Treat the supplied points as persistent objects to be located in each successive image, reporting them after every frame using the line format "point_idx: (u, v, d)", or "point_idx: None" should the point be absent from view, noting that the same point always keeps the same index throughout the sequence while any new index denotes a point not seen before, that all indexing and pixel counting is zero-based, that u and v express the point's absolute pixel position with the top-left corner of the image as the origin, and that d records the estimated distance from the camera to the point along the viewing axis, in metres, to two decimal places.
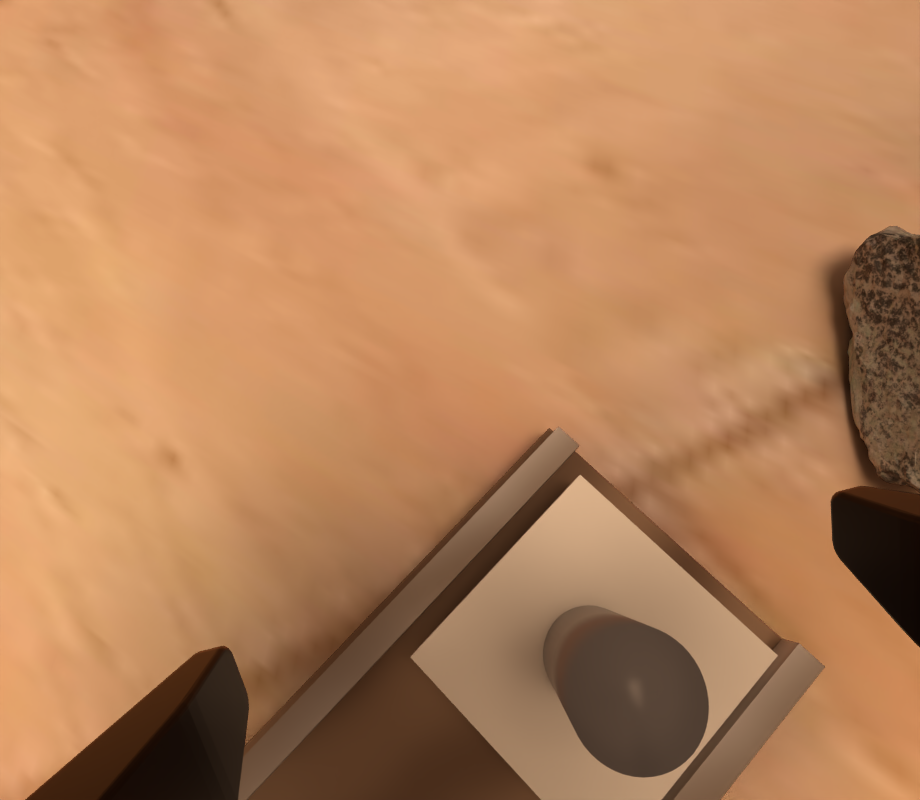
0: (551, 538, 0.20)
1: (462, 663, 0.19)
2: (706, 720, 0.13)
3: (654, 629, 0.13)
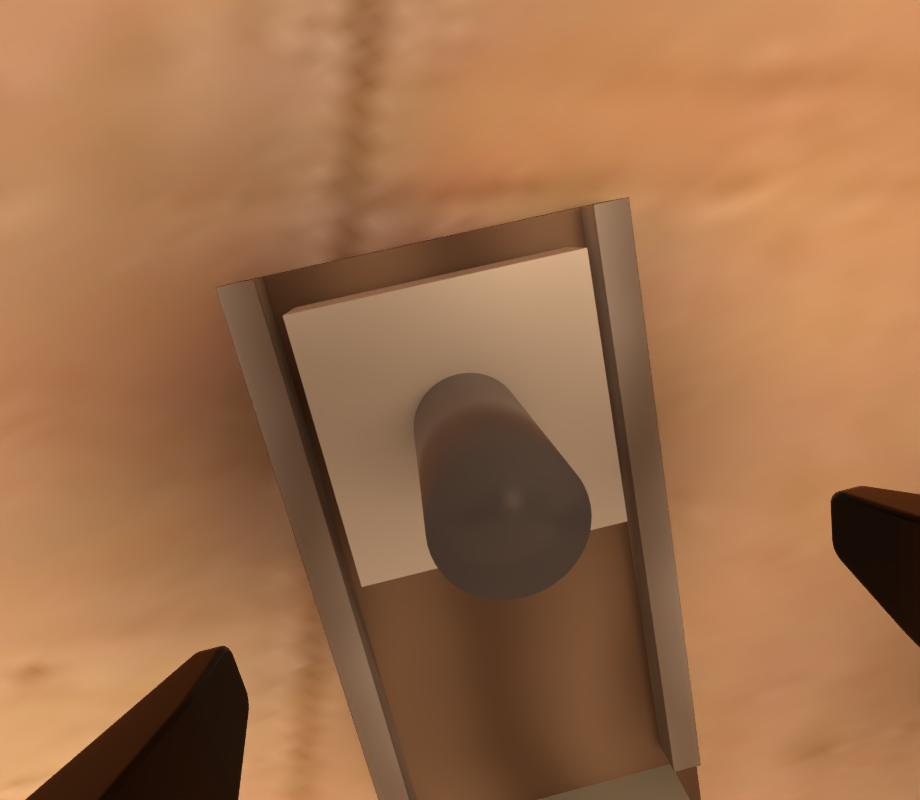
0: (333, 392, 0.16)
1: (397, 545, 0.17)
2: (574, 472, 0.11)
3: (459, 465, 0.10)
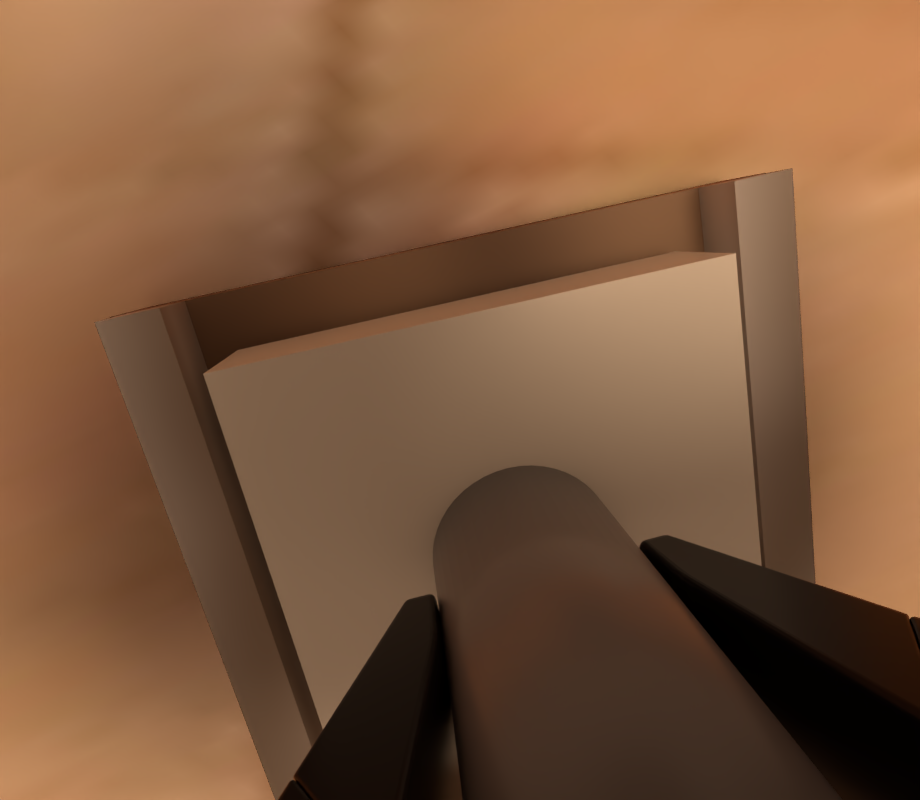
0: (296, 501, 0.09)
1: None
2: None
3: None
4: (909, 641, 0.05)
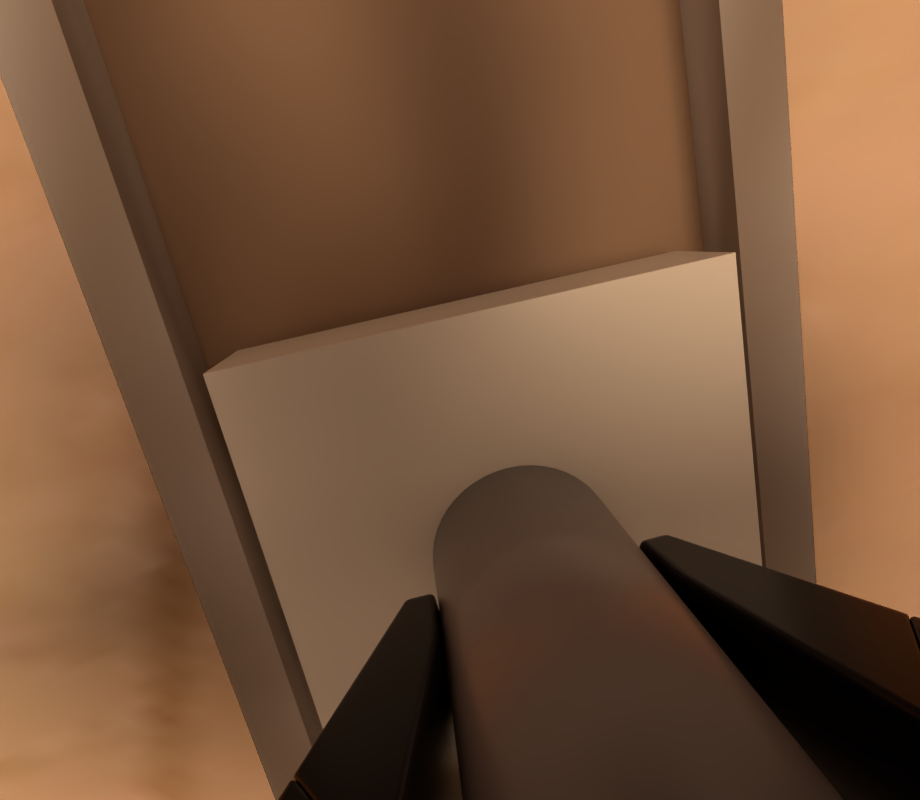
0: (296, 502, 0.09)
1: None
2: None
3: None
4: (909, 641, 0.05)
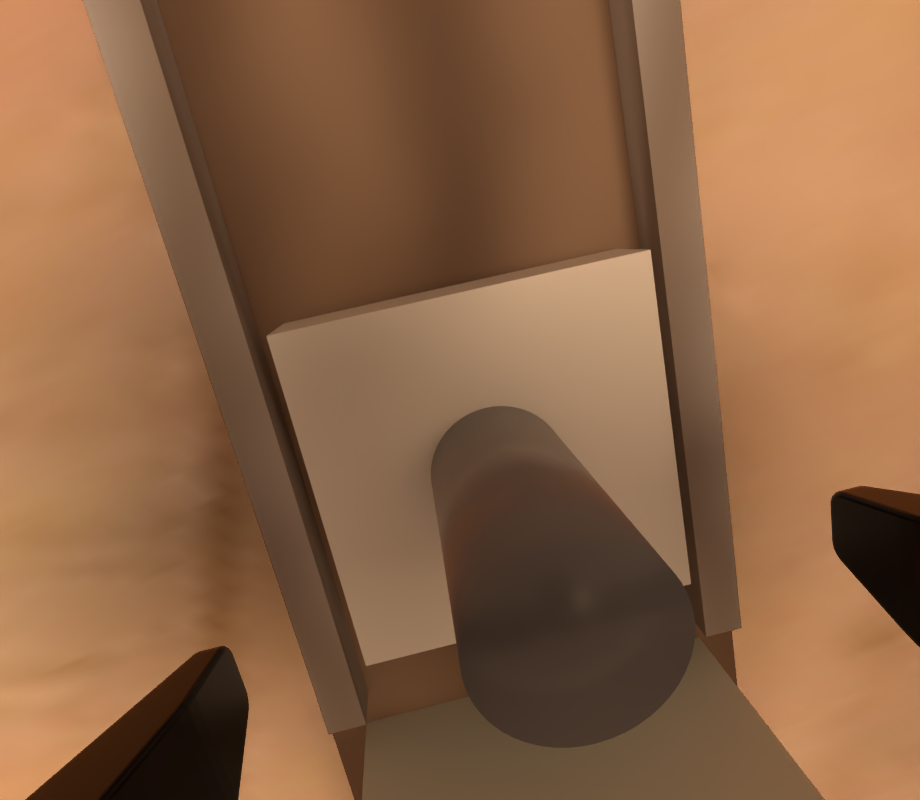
0: (330, 431, 0.13)
1: (409, 615, 0.14)
2: (674, 574, 0.07)
3: (510, 567, 0.07)
4: None
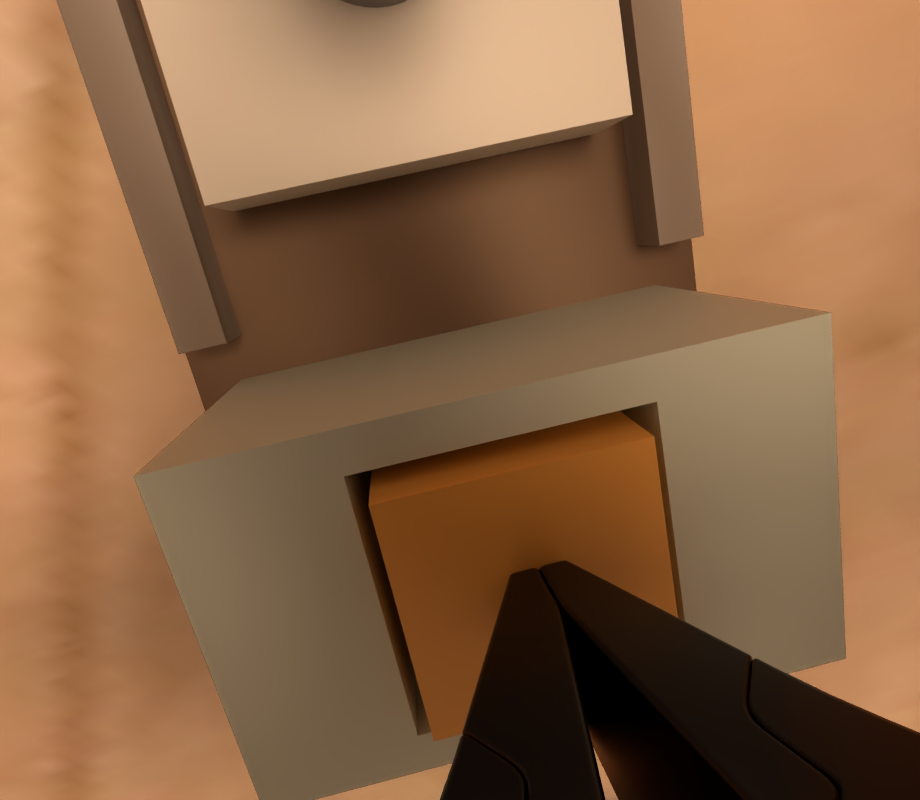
0: None
1: (259, 130, 0.11)
2: None
3: None
4: (740, 686, 0.05)
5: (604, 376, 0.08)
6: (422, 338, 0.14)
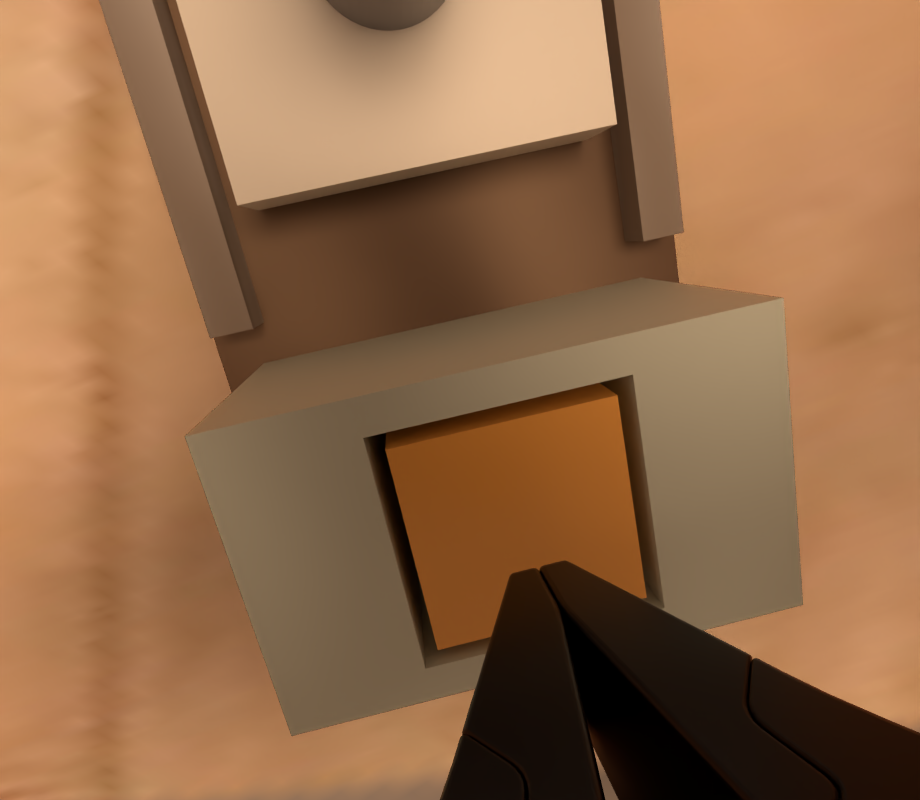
0: None
1: (285, 138, 0.12)
2: None
3: None
4: (740, 686, 0.05)
5: (587, 352, 0.10)
6: (428, 326, 0.15)
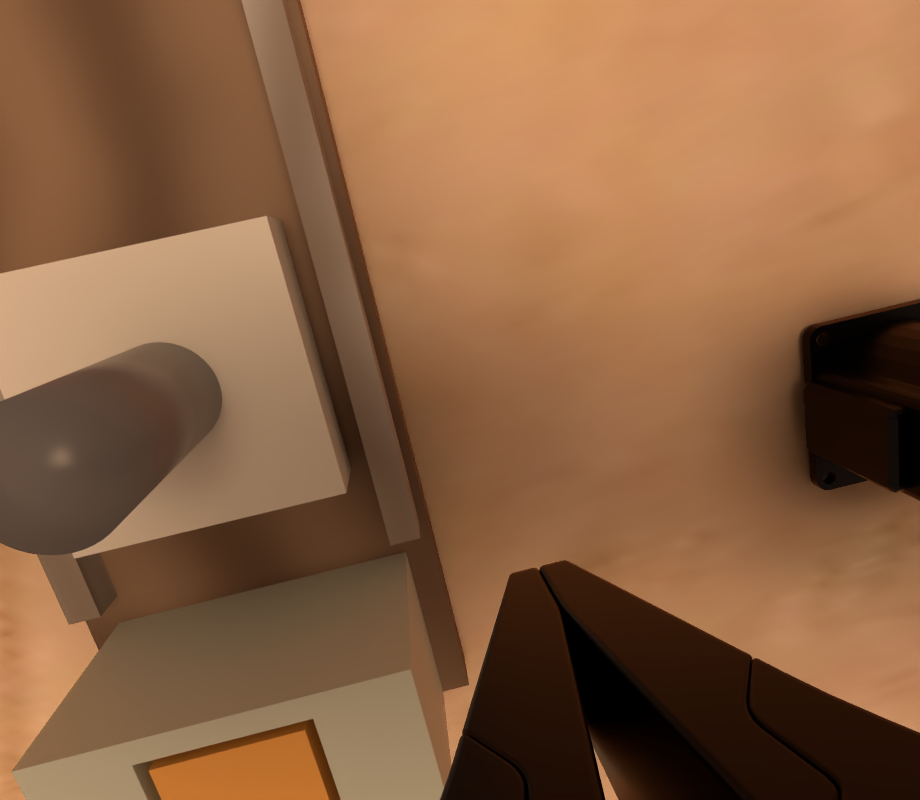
0: (18, 361, 0.16)
1: None
2: (101, 426, 0.11)
3: None
4: (739, 686, 0.05)
5: (279, 708, 0.15)
6: (243, 593, 0.21)
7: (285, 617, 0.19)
